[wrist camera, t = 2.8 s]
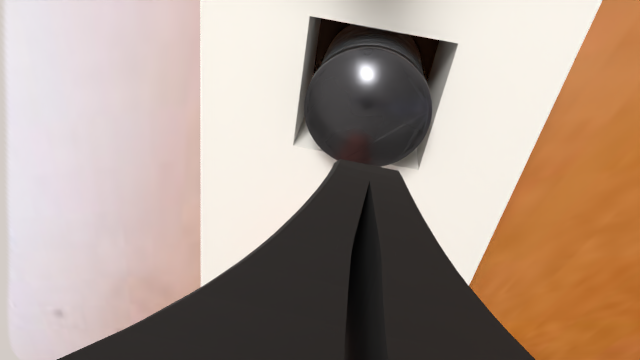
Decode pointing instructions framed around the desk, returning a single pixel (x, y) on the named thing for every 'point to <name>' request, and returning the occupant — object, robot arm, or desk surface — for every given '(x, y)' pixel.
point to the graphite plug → (369, 97)
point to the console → (416, 168)
